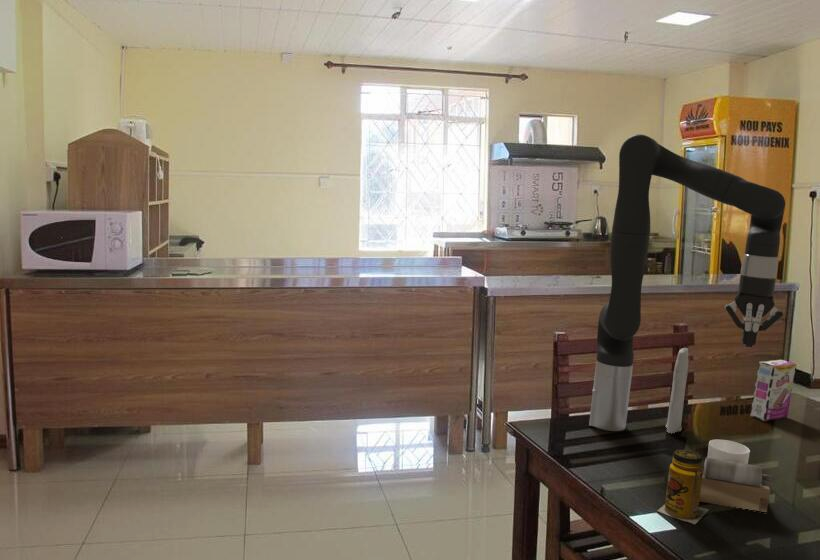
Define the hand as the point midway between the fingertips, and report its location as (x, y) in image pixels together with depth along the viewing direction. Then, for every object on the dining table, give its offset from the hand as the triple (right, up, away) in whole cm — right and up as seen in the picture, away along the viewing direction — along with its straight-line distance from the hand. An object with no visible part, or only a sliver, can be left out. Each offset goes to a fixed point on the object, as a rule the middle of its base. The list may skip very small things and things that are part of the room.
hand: (748, 346), depth 164 cm
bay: (-14, -29, -18) cm, 37 cm away
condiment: (-27, -30, -30) cm, 50 cm away
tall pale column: (-11, -24, +19) cm, 32 cm away
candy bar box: (+23, -24, +35) cm, 48 cm away
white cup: (-15, -29, -19) cm, 38 cm away
